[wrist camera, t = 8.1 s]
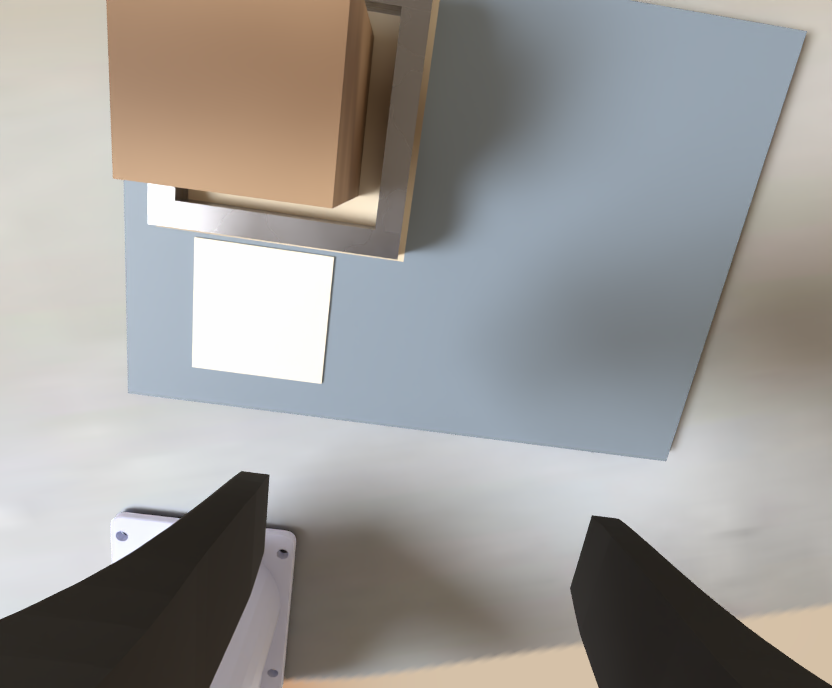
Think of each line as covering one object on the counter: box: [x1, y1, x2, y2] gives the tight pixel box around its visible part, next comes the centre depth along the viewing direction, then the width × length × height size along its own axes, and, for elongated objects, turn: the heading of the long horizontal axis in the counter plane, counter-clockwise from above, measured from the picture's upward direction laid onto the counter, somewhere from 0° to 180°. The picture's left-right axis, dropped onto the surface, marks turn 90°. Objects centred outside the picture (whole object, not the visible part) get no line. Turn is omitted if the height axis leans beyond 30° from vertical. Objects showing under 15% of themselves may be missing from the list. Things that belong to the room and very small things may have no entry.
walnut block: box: [106, 0, 374, 208], centre depth 13 cm, size 4×4×6 cm
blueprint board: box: [124, 0, 807, 461], centre depth 18 cm, size 16×22×4 cm
